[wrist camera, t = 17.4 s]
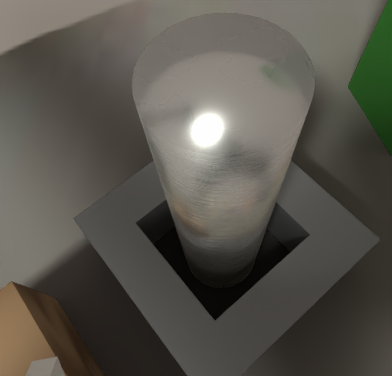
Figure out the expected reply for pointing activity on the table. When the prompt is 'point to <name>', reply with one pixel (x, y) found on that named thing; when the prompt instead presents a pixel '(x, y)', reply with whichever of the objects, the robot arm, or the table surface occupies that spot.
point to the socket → (254, 298)
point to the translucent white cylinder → (222, 132)
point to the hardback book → (377, 78)
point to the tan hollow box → (39, 334)
